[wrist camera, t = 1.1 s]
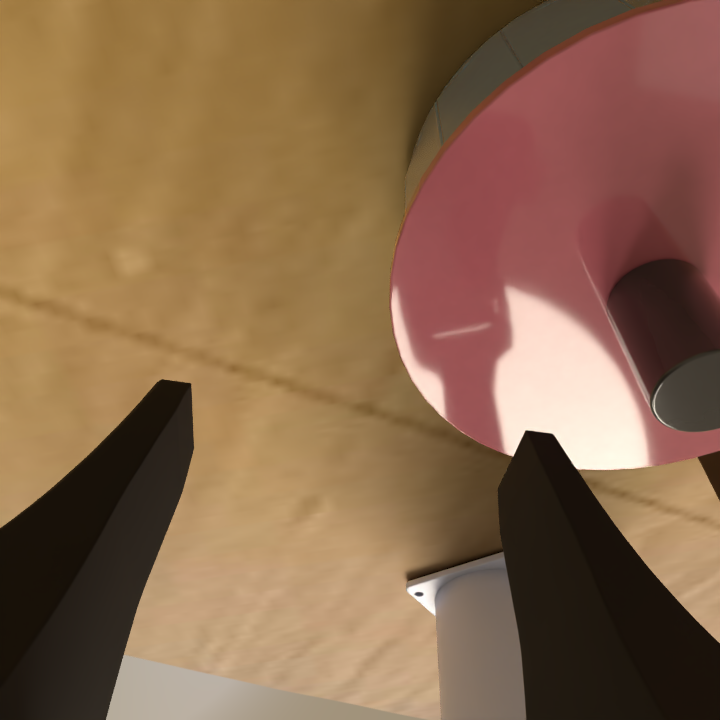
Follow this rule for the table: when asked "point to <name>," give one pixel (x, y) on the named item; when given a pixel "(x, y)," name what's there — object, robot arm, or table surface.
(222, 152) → the table surface
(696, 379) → the lid
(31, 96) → the table surface
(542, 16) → the bowl
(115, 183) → the table surface
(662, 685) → the robot arm
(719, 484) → the block
